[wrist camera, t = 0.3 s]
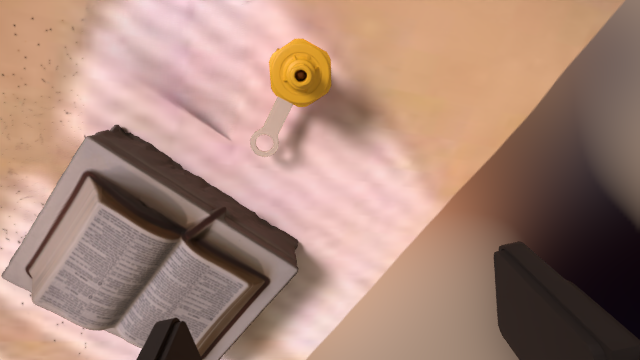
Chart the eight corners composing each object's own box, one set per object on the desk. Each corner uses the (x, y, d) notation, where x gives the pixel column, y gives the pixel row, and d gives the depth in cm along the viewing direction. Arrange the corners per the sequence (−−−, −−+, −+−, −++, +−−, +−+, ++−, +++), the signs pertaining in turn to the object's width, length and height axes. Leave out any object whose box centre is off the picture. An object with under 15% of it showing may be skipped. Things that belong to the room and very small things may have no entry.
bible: (149, 91, 38) (102, 106, 29) (318, 257, 46) (324, 310, 37) (13, 226, 43) (-66, 277, 33) (189, 357, 51) (166, 427, 41)
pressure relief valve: (335, 58, 38) (347, 63, 29) (283, 158, 41) (280, 192, 32) (286, 31, 37) (283, 26, 27) (238, 136, 40) (219, 164, 31)
